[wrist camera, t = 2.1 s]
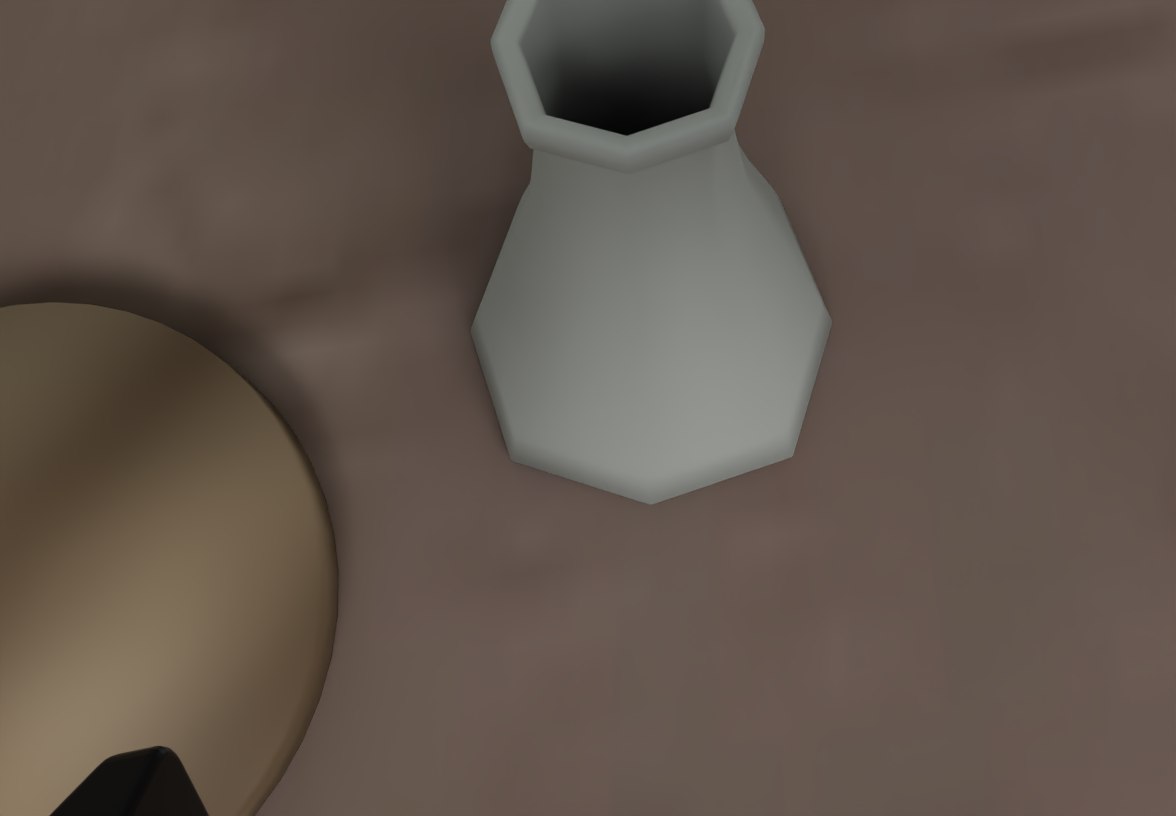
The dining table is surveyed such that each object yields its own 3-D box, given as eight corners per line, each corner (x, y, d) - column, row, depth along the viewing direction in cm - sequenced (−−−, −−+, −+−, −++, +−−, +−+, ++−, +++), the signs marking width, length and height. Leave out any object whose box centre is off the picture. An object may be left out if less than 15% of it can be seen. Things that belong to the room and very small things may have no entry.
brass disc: (442, 451, 22) (428, 436, 21) (143, 1069, 19) (109, 1090, 18) (-47, 244, 24) (-83, 220, 23) (-376, 773, 21) (-436, 776, 20)
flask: (478, 176, 24) (341, -200, 14) (820, 164, 23) (920, -236, 14) (466, 509, 22) (297, 333, 12) (841, 505, 21) (974, 317, 12)
